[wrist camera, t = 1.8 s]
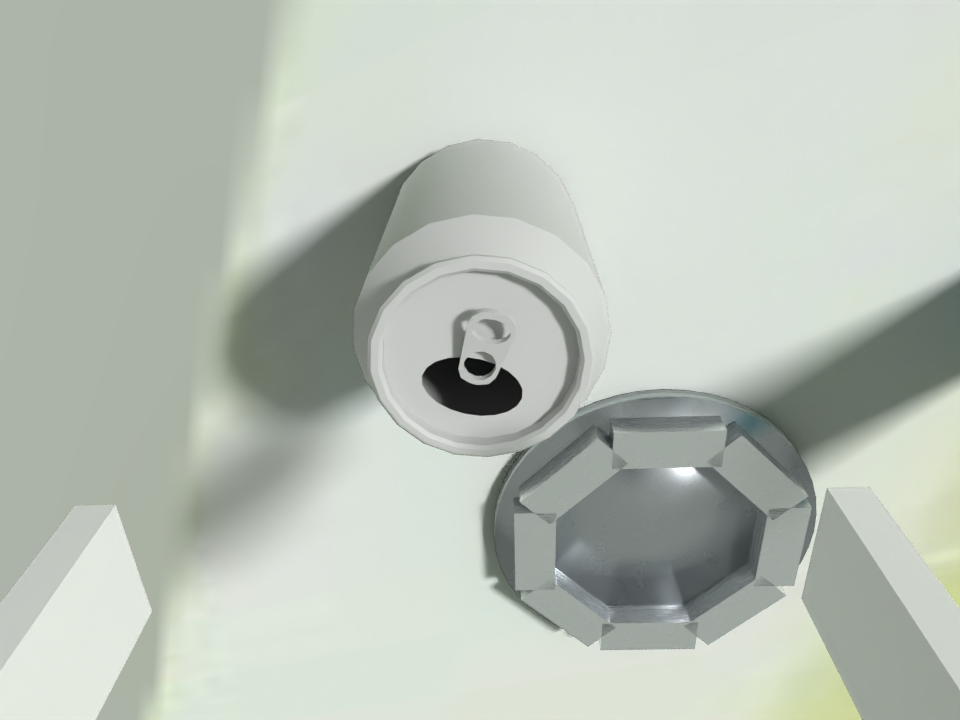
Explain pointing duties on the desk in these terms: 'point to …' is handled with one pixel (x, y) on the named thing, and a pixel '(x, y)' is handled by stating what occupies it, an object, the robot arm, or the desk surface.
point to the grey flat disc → (655, 520)
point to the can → (482, 303)
